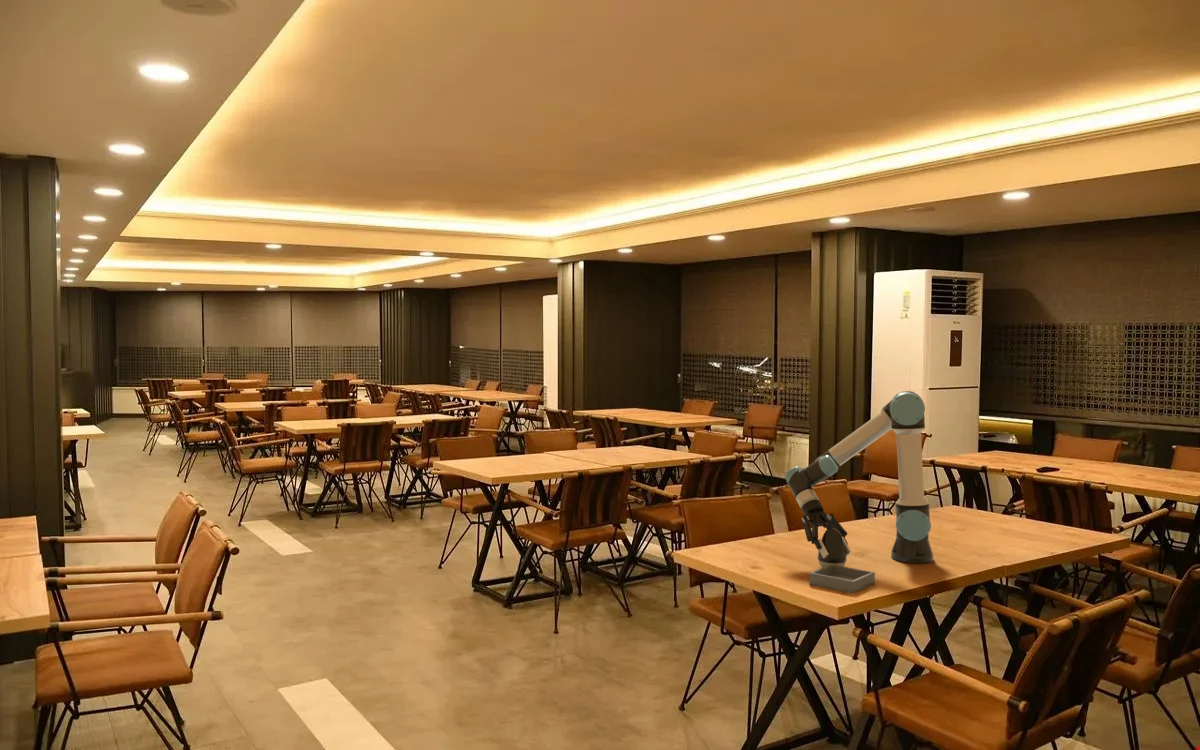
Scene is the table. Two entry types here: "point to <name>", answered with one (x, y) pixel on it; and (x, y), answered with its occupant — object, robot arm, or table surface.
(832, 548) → the dark grey oval piece
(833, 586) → the grey tray
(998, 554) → the table surface
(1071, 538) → the table surface
